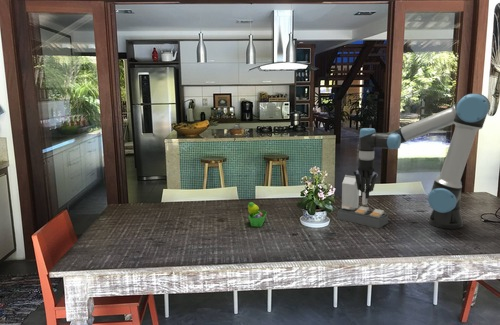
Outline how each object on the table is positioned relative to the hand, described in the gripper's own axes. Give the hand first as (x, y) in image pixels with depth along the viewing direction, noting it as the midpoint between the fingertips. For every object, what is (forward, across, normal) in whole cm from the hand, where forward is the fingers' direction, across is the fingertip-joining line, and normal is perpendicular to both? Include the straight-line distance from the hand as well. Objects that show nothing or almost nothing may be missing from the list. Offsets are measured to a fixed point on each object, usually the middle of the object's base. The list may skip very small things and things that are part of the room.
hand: (364, 204), depth 207 cm
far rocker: (+4, +8, +3) cm, 9 cm away
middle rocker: (+3, 0, +3) cm, 4 cm away
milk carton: (+9, +16, -14) cm, 23 cm away
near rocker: (+3, -8, +3) cm, 9 cm away
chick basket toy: (+9, +38, +41) cm, 57 cm away
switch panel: (+8, 0, +3) cm, 9 cm away
